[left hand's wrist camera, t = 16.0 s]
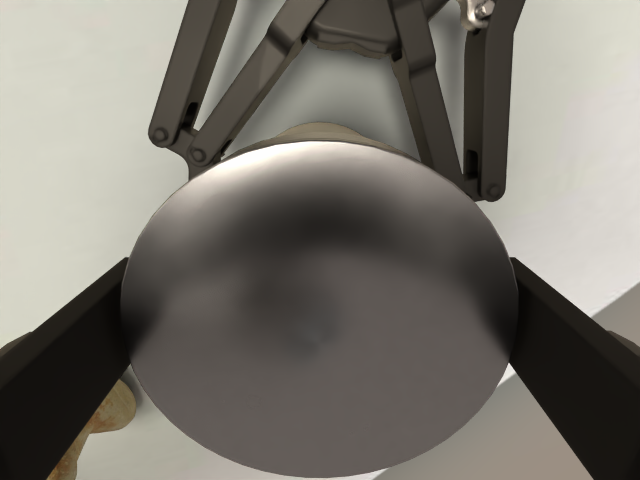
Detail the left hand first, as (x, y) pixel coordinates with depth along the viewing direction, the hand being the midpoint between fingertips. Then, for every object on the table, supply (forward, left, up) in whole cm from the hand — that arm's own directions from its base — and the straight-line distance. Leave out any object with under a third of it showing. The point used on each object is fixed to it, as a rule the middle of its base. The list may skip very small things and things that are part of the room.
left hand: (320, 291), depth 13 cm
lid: (0, 0, +3) cm, 3 cm away
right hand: (-4, -2, -7) cm, 8 cm away
